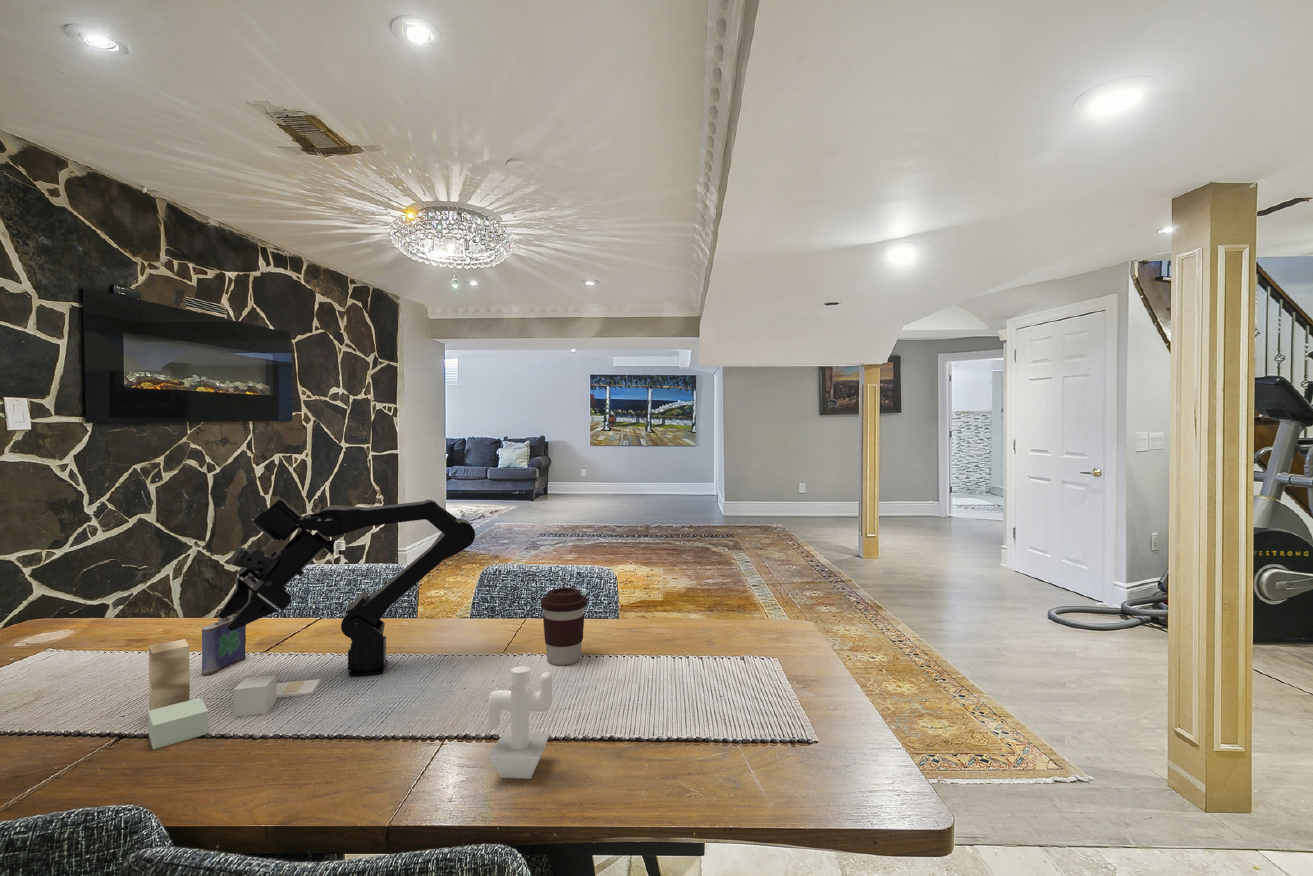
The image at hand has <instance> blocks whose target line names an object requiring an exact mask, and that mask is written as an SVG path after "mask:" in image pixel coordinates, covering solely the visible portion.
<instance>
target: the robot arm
mask: <svg viewBox="0 0 1313 876" xmlns="http://www.w3.org/2000/svg"><path fill="white" fill-rule="evenodd" d="M423 520H426V521H427V522H429V523H430V524H432V525H433V526H434V527H435V528H436V529H438V531H440V532H441V533H440V534H439V536H437V538H436V539H435V540H434V542H433V543H432V545H431V546H430V547H428V549H426V550H424V551H423V552H422V553H421V554H420V555H418V557H417V558H415V559H414V560H413V561H412V562H411V563H410V564H408V565H407V566H406V567H405V568H404V569H402V570H401V571H400V572H399V573H398V574H396V575H395V576H394V577H393V578H392V579H390V580H389V581H388V582H387V583H386V584H385V585H383V586H382V587H381V588H380V589H379V590H377V591H375V592H373V593H371V594H369V595H368V593H367V591H366V590H364V591H363V592H362V593H360V594H359V596H358V597H357V598H356V599H354V600H353V601H350V602H348V605H347V607H346V609H345V613H344V615H343V617H342V620H341V623H340V624H341V625H340V628H341V632H342V634H343V635H344V636H345V637H347V638H349V639H350V640H351V642H350V648H349V649H348V651H347V670H348V671H349V672H348V677H357V676H367V675H379V674H383V673H384V672H385V670H386V668H387V665H388V663H389V660H388V659H387V636H386V635H384V632H385V626H386V622H384V621H383V620H382V619H381V618H382V617H383V616H384V614H385V613H386V612H387V611H388V609H389V608H390V607H391V606H392V605H393V604H395V602H397V601H398V600H399V599H400V598H401V597H402V596H403V595H404V594H406V593H407V592H408V591H409V590H410V589H412V588H413V587H414V586H415V585H416V584H418V583H419V582H420V581H421V580H422V579H423V578H424V577H426V576H427V575H428V574H429V573H430V572H432V571H433V570H434V569H436V567H437V566H439V565H440V564H441V563H442V562H444V561H446V560H447V559H449V558H452V557H453V556H455V555H458V554H459V553H461V552H463V551H464V550H466V549H467V548H469V547H470V546H471V545H472V544H473V543H474V541H475V539H476V531H475V529H474V527H473V524H471V522H470V521H469V520H467V519H465V518H457V517H455V516H454V515H453V514H451V513H450V512H449V511H447V510H446V509H445V508H443V507H442V506H440V505H439V504H438V503H437V501H435V500H433V499H426V500H423V501H415V502H414V501H413V502H405V503H398V504H397V503H396V504H389V505H388V504H387V505H377V506H367V507H365V506H356V505H355V506H353V505H342V504H341V505H337V504H334V505H329V506H326V507H325V508H324V509H323V510H321V511H320V512H316V513H315V512H313V513H307V514H304V515H302V514H300V513H299V512H298V511H297V510H295V508H293V507H292V506H291V505H290V504H289V503H288V502H287V501H286V500H285V499H284V498H279V499H278V500H277V501H276V502H274V503H273V504H272V505H271V506H270V507H268V508H267V509H265V510H264V511H262V512H261V513H260V514H258V516H256V518H255V519H253V520H252V521H251V525H253V526H255V527H256V528H257V529H258V530H259V531H260V532H262V533H263V534H265V536H267V537H268V538H269V539H270V540H272V541H274V542H277V541H279V542H280V541H283V542H285V541H286V540H287V539H289V537H291V536H292V535H293V534H294V533H295V532H296V531H297V530H298V529H299V530H300V531H298V533H296V535H294V536H293V537H292V538H291V539H290V540H289V541H288V542H287V543H286V544H285V545H284V546H282V548H280V549H279V550H272V551H271V552H270V553H268V554H266V553H265V550H262V549H258V548H256V547H253V548H252V549H249V548H246V547H243V546H240V545H238V546H236V549H235V550H234V552H233V553H232V556H231V557H230V559H229V560H228V562H229V563H231V565H232V566H235V567H237V568H240V569H239V570H237V571H236V575H238V576H239V577H238V576H236V575H235V577H234V579H235V589H234V591H233V592H232V593H231V595H230V596H229V598H228V600H227V601H226V602H225V604H224V605H223V607H222V609H221V610H220V611H219V612H220V613H219V612H218V613H219V614H218V613H217V614H218V615H217V617H218V618H219V617H220V618H221V619H224V618H226V617H227V616H228V617H229V616H232V615H234V614H235V613H236V614H235V615H236V616H235V617H234V619H233V620H232V621H231V623H230V624H229V625H228V626H227V628H228V629H229V630H230V631H233V630H236V629H238V628H240V627H242V626H244V625H246V626H247V625H248V624H251V623H253V622H255V621H257V620H260V619H261V618H265V617H266V616H269V615H272V614H273V613H278V612H279V610H278V609H280V610H281V611H282V612H284V610H285V609H286V608H287V607H288V606H289V605H290V604H291V603H292V595H291V594H290V593H288V592H287V590H288V588H287V587H286V586H288V584H289V583H290V582H291V581H293V579H294V578H296V577H297V576H299V577H301V576H302V575H303V574H304V573H305V571H304V569H305V568H306V566H308V565H309V564H310V563H311V562H312V561H313V560H314V559H316V557H317V556H318V555H319V554H320V553H321V552H323V550H324V551H326V552H327V553H328V554H334V553H335V542H336V540H335V539H330V540H328V539H327V538H335V537H339V536H341V535H345V534H348V533H351V532H354V531H358V530H360V529H363V528H367V527H372V526H381V525H388V524H389V525H391V524H398V523H405V522H406V523H407V522H414V521H423ZM310 531H316V532H315V533H314V534H312V533H311V532H310ZM325 537H326V538H325ZM237 612H238V613H237Z"/></svg>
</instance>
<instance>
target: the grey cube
mask: <svg viewBox="0 0 1313 876" xmlns="http://www.w3.org/2000/svg"><path fill="white" fill-rule="evenodd" d="M276 683H277V675H276V674H274V675H273V674H271V675H263V676H253V677H244V679H243V680H241V682H239V683H238V684H237V686H236V687H235V688H233V718H239V717H238V716H243V717H249V716H248V715H252V716H258V715H257V714H261V715H267V714H268V712H269V711H271V709H272V708H273V706H275V704H276V703H277V698H276ZM271 707H272V708H271ZM255 714H256V715H255Z"/></svg>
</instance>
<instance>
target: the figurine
mask: <svg viewBox="0 0 1313 876" xmlns="http://www.w3.org/2000/svg"><path fill="white" fill-rule="evenodd" d="M530 680H531V668H530V667H529V666H523V665H522V666H516V667H512V668H511V669H510V679H509V681H510V689H509V690H506V689H505V690H504V689H497V690H493V691H492V692H490V694H489V697H488V701H487V726H488V728H489V729H490V730H495V729H497V728H498V727H499V726H500V722H501V711H509V712H510V718H511V719H510V720H511V721H510V725H511V726H510V731H503V733H502V734H501V736H500V737H499V739H498V740H497V742H496V743H495V746H494V747H493V748H492V749H491V752H490V753H489V755H488V756H487V759H488V760H489V762H490V763H491V765H492V766H493V768H494V769H495V771H496V772H497V774H498V775H499V777H500V778H502V779H525V780H526V779H527V780H529V779H532V777H533V775H534V773H535V770H536V768H537V765H538V764H539V762H540V760H541V757H542V754H543V751H544V750H545V747H546V744H547V742H548V740H549V737H550V734H551V733H548V732H530V712H547V711H549V710H550V708H551V706H552V701H553V676H552V673H551V672H549V671H544V672H543V673H542V674H541V676H540V681H539V682H540V683H539V684H540V687H539V690H531V689H530Z"/></svg>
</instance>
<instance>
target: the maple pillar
mask: <svg viewBox="0 0 1313 876" xmlns="http://www.w3.org/2000/svg"><path fill="white" fill-rule="evenodd" d="M148 668H149V669H148V670H149V671H148V672H149V673H148V677H149V680H148V681H149V682H148V683H149V684H148V685H149V689H148V690H149V693H148V694H149V697H148V698H149V700H148V701H149V703H148V704H149V711H150V710H154V709H158V708H162V707H166V706H169V705H173V704H177V703H181V702H185V701H189V700H191V699H190V698H191V697H190V692H191V691H190V688H191V687H190V645H189V643H188V642H187V640H186V639H185V638H183V639H177V640H173V641H168V642H164V643H163V642H162V643H157V644H152V645H149V646H148Z"/></svg>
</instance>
